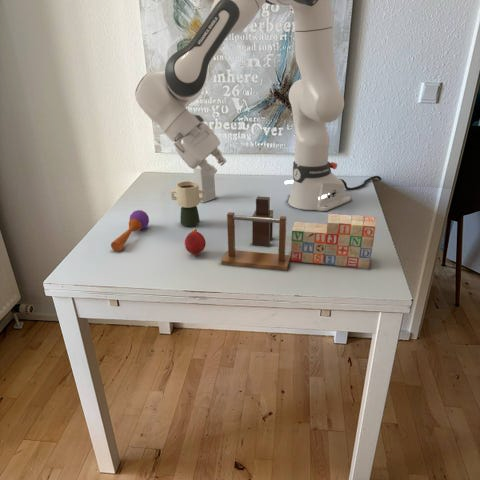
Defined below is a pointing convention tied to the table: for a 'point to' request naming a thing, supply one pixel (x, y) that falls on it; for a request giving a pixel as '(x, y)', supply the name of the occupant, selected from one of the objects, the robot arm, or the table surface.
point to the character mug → (188, 201)
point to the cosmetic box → (205, 183)
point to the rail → (256, 258)
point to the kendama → (131, 228)
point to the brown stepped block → (262, 223)
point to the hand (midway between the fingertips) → (219, 168)
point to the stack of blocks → (334, 241)
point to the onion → (195, 242)
